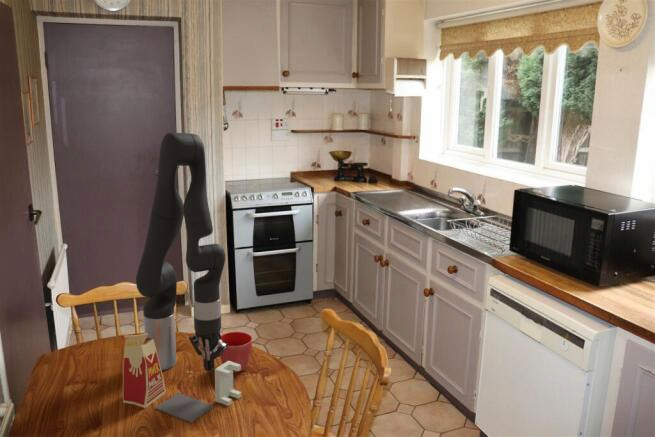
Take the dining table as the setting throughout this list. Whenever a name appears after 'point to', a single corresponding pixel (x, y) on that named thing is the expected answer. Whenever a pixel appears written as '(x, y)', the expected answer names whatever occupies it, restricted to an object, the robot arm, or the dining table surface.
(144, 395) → the milk carton
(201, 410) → the mat
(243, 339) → the flower pot
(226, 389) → the stool
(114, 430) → the dining table surface
